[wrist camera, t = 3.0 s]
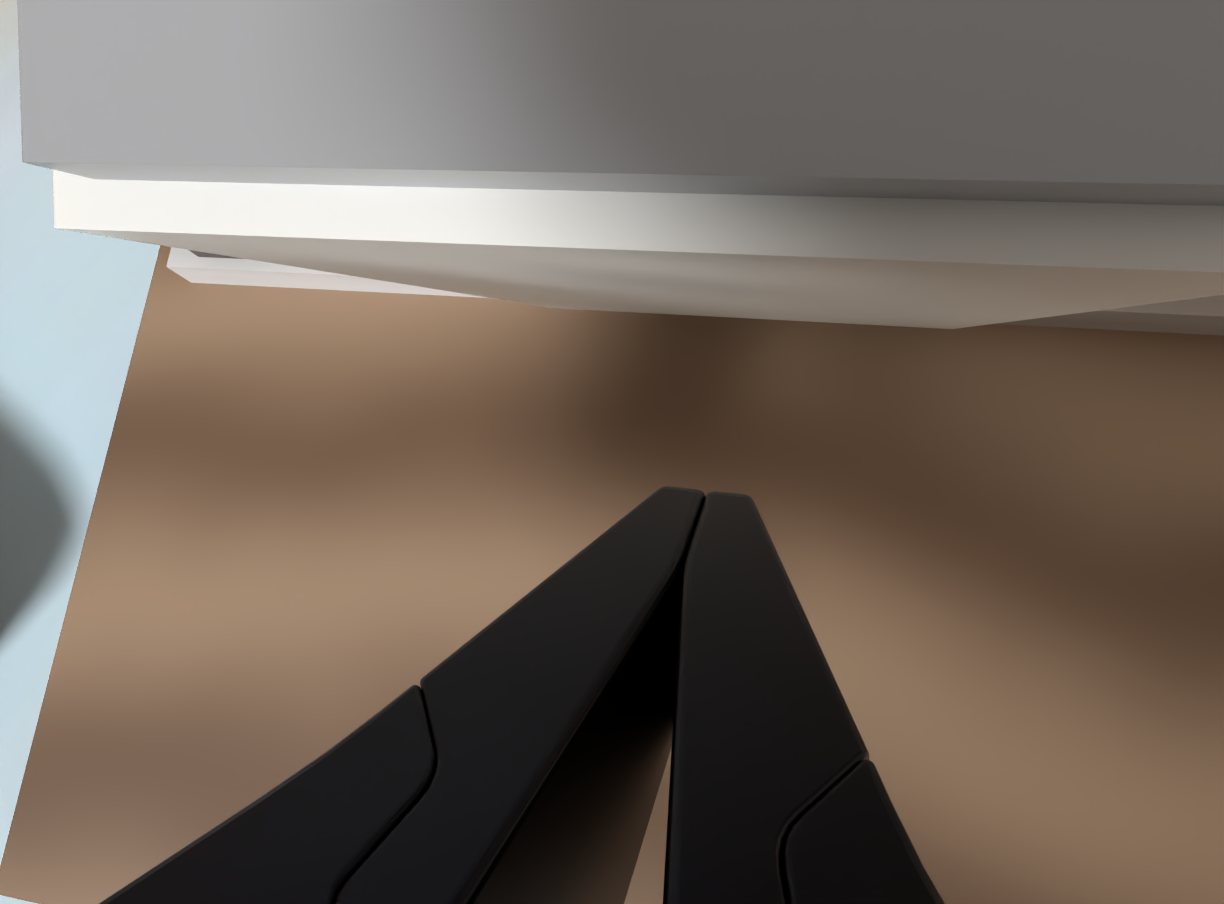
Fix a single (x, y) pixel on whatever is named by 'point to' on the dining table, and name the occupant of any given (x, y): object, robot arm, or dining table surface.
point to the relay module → (655, 148)
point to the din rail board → (603, 494)
